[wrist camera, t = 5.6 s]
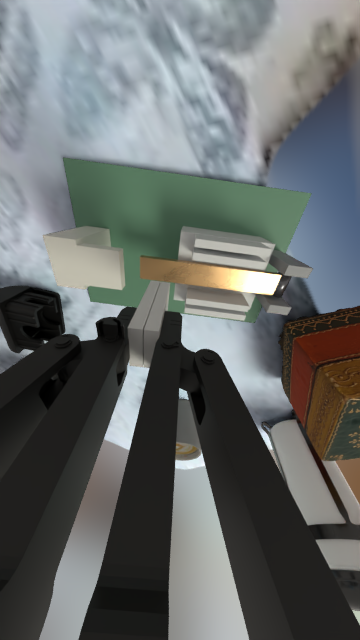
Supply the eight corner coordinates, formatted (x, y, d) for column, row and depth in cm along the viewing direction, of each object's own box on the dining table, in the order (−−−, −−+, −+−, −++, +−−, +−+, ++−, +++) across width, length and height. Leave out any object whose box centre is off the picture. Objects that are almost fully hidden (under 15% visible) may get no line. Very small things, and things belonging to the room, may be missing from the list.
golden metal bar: (142, 275, 21) (139, 280, 20) (142, 253, 19) (139, 256, 18) (278, 293, 21) (283, 298, 20) (288, 272, 20) (294, 277, 19)
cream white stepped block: (92, 264, 26) (57, 285, 19) (86, 225, 23) (42, 235, 16) (140, 270, 26) (122, 294, 19) (139, 233, 23) (118, 245, 16)
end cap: (16, 280, 29) (-26, 298, 24) (59, 290, 30) (29, 310, 24) (30, 326, 35) (-2, 350, 29) (66, 334, 36) (42, 359, 30)
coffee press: (308, 437, 53) (412, 645, 28) (255, 434, 54) (309, 633, 29) (337, 405, 43) (534, 679, 18) (271, 402, 44) (373, 660, 19)
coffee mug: (160, 414, 51) (154, 456, 42) (168, 395, 45) (163, 439, 37) (204, 423, 52) (206, 465, 44) (217, 406, 46) (222, 450, 38)
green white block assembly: (93, 298, 30) (60, 330, 23) (69, 159, 20) (-6, 133, 13) (252, 319, 31) (272, 357, 23) (305, 193, 21) (372, 188, 13)
